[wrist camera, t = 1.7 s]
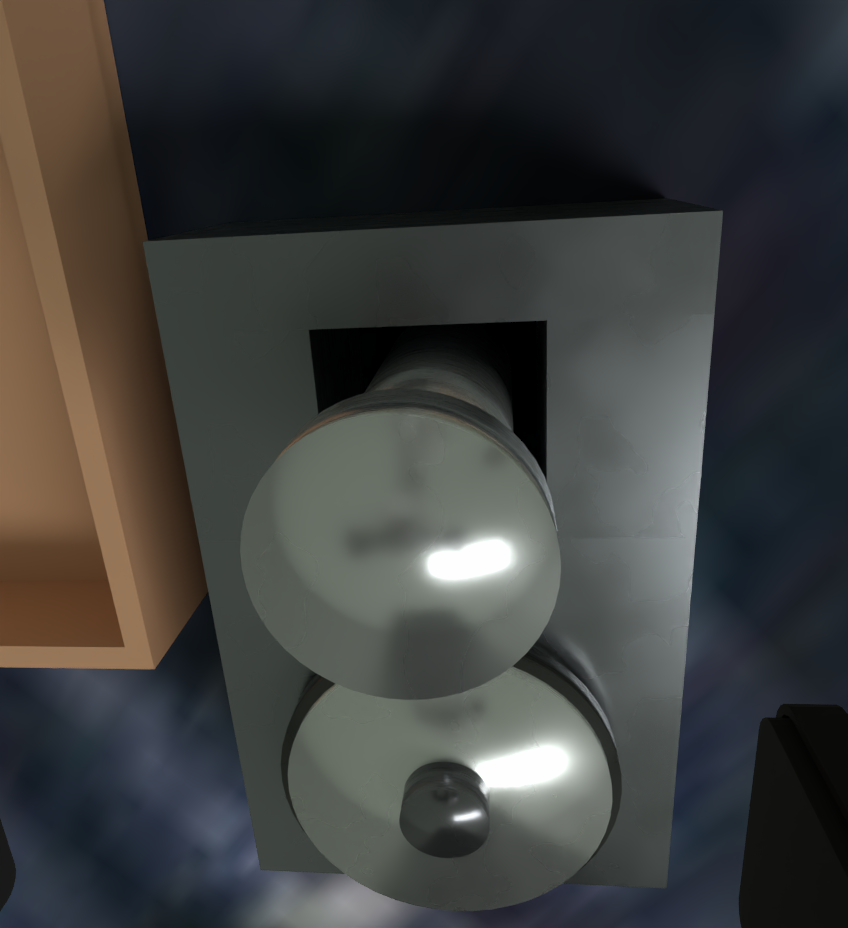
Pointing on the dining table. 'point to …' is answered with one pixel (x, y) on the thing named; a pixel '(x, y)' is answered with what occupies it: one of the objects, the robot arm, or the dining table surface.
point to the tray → (81, 367)
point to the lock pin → (408, 527)
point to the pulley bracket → (576, 513)
